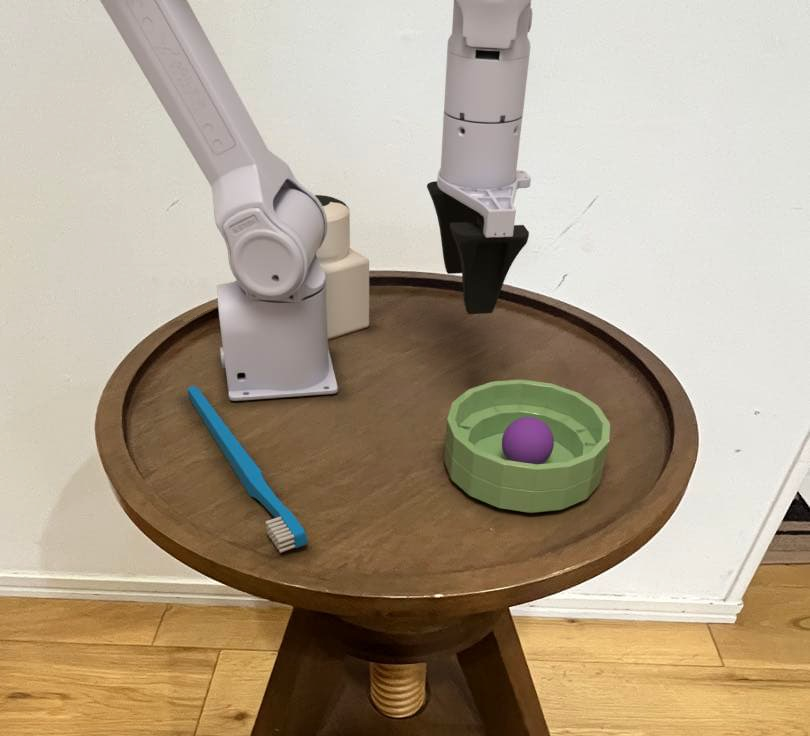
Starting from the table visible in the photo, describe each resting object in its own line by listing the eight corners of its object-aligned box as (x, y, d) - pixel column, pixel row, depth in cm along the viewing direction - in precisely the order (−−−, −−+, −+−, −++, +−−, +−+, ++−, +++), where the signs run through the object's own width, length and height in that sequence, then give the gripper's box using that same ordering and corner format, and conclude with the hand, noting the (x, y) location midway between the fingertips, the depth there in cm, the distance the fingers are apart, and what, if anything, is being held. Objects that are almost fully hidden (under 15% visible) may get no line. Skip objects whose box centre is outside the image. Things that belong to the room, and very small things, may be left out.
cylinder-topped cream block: (272, 318, 86) (262, 197, 78) (331, 301, 89) (327, 183, 81) (309, 346, 82) (303, 222, 74) (370, 327, 85) (370, 206, 77)
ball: (506, 481, 65) (513, 439, 63) (493, 450, 68) (499, 408, 65) (556, 477, 66) (564, 435, 63) (540, 446, 69) (548, 405, 66)
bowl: (465, 524, 62) (470, 475, 59) (430, 432, 71) (433, 385, 68) (623, 509, 64) (635, 460, 61) (569, 421, 73) (578, 374, 70)
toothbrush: (202, 399, 74) (180, 405, 74) (198, 380, 73) (176, 386, 72) (308, 548, 59) (281, 558, 58) (305, 527, 58) (278, 537, 57)
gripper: (567, 141, 57) (540, 329, 65) (510, 86, 67) (493, 254, 76) (464, 143, 56) (450, 333, 64) (423, 87, 66) (416, 257, 75)
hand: (468, 291), depth 70 cm, fingers open, 7 cm apart
